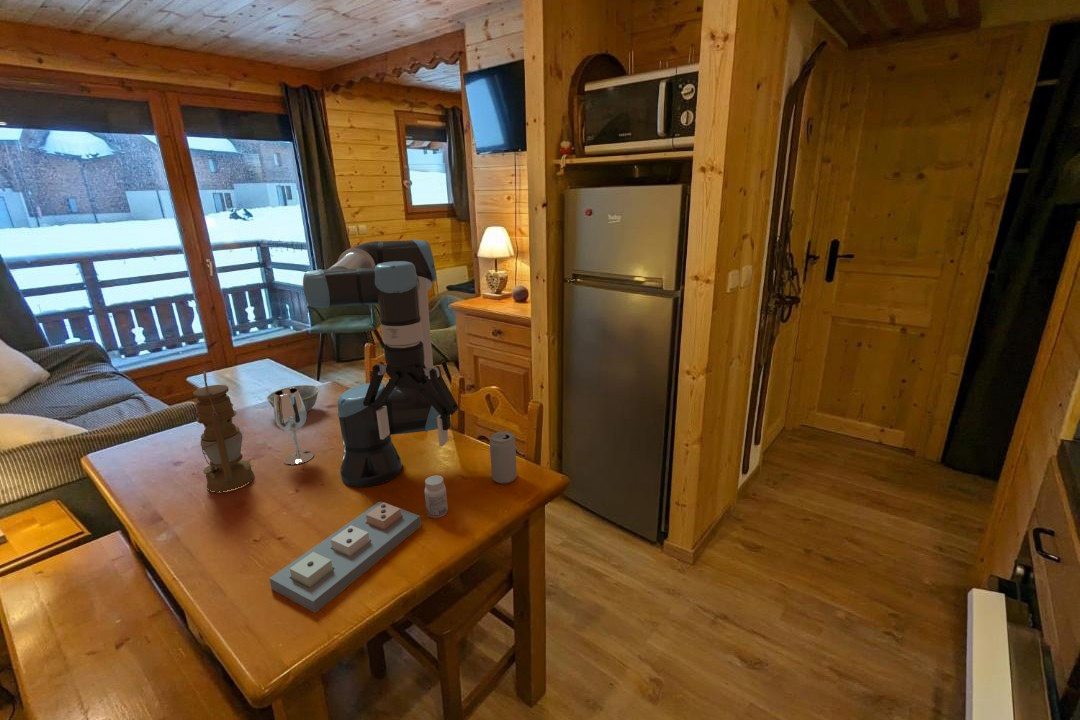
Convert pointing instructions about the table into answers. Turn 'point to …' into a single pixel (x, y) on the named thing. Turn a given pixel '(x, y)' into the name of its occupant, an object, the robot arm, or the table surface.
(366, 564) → the key board
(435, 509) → the pill bottle
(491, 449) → the beverage can
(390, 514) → the key three
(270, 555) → the table surface
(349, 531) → the key two
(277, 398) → the wineglass
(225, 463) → the lantern
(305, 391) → the bowl
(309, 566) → the key one
